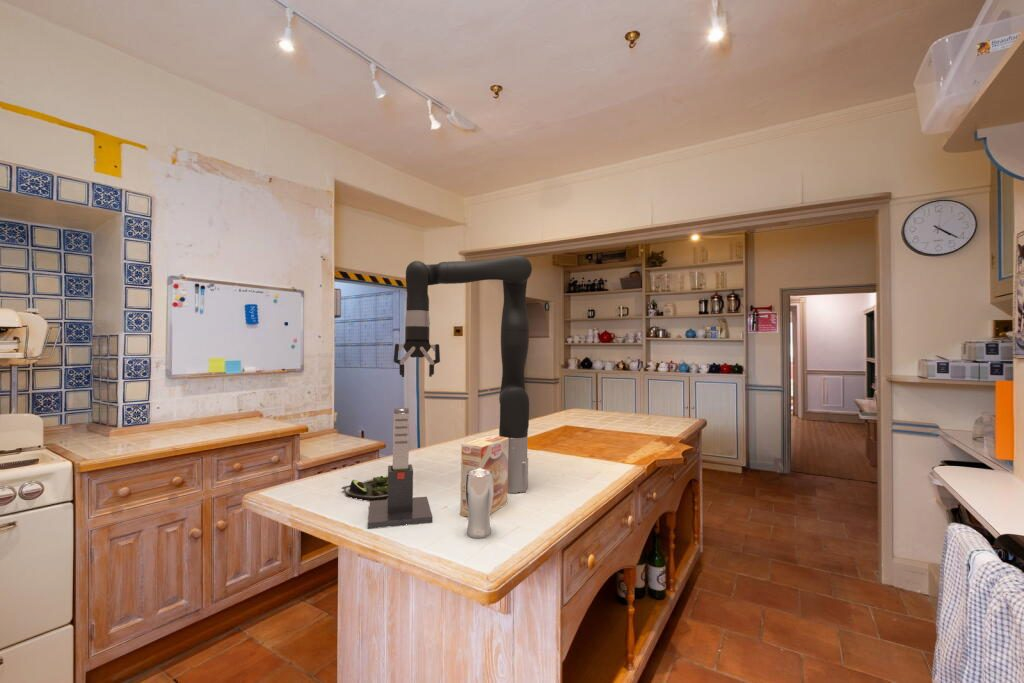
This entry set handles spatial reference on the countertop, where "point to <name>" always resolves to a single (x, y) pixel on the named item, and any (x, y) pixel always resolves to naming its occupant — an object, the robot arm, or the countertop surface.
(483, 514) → the beer glass
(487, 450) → the coffeecake box
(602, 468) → the countertop surface
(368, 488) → the salad plate
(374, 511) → the stand
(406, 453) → the column
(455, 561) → the countertop surface
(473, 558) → the countertop surface
